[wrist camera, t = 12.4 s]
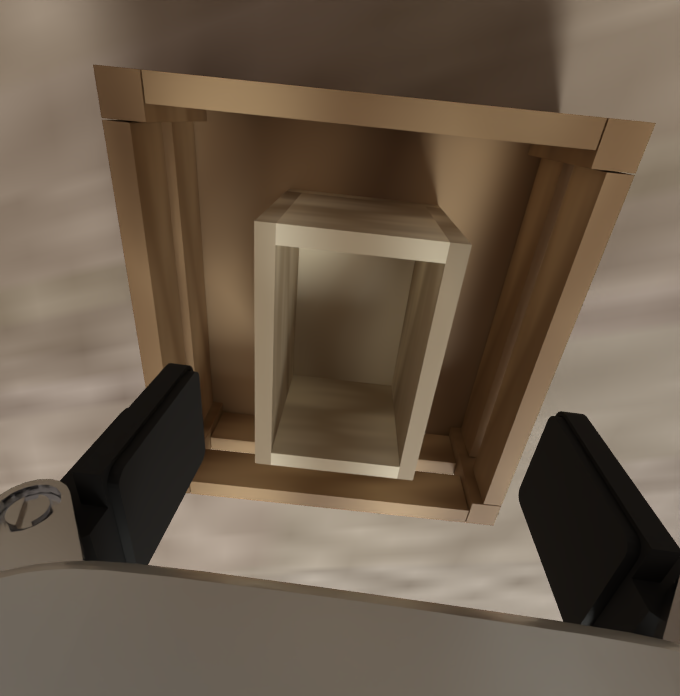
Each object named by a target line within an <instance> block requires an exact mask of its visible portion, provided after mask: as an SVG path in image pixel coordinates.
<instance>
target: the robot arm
mask: <svg viewBox="0 0 680 696" xmlns="http://www.w3.org/2000/svg"><path fill="white" fill-rule="evenodd" d="M204 455H205V438H204V425H203V413H202V401H201V389H200V377H199V373H198V372H195V371H193V368H192V366H190V365H182V364H174V363H168V364H167V365H166V366H165V367H164V368H163V369H162V371H161V372H160V373H159V374H158V375H157V376H156V377H155V379H154V380H153V381H152V382H151V383H150V384H149V385H148V386H147V388H146V389H145V390H144V391H143V392H142V393H141V394H140V395H139V397H138V398H137V399H136V400H135V401H134V402H133V403H132V404H131V406H130V407H129V408H126V409H125V410H124V411H122V412H121V414H120V415H119V416H118V417H117V418H116V419H115V420H114V421H113V422H112V424H111V425H110V426H109V427H108V428H107V429H106V430H105V431H104V432H103V434H102V435H101V436H100V437H99V438H98V439H97V440H96V441H95V442H94V444H93V445H92V446H91V447H90V448H89V449H88V450H87V451H86V452H85V454H84V455H83V456H82V457H81V458H80V459H79V460H78V461H77V463H76V464H75V465H74V466H73V467H72V468H71V469H70V470H69V471H68V473H67V474H66V475H65V476H64V477H63V478H62V479H61V480H60V481H57V480H52V479H38V480H34V481H29V482H25V483H22V484H20V485H17V486H15V487H13V488H11V489H9V490H7V491H6V492H4V493H2V494H1V495H0V696H680V548H679V547H678V545H677V544H676V542H675V541H674V540H673V538H672V537H671V535H670V534H669V532H668V531H667V530H666V528H665V527H664V525H663V524H662V523H661V521H660V520H659V518H658V517H657V516H656V514H655V513H654V511H653V510H652V508H651V507H650V506H649V504H648V503H647V501H646V500H645V499H644V497H643V496H642V494H641V493H640V491H639V490H638V489H637V487H636V486H635V484H634V483H633V482H632V480H631V479H630V477H629V476H628V475H627V473H626V472H625V470H624V469H623V467H622V466H621V465H620V463H619V462H618V460H617V459H616V458H615V456H614V455H613V453H612V452H611V450H610V449H609V448H608V446H607V445H606V443H605V442H604V441H603V439H602V438H601V436H600V435H599V434H598V432H597V431H596V429H595V428H594V426H593V425H592V424H591V422H590V421H589V419H588V418H587V417H586V416H585V415H583V414H578V413H570V412H562V411H561V412H558V413H557V414H556V416H551V417H550V418H549V419H548V421H547V424H546V426H545V429H544V431H543V433H542V436H541V438H540V441H539V443H538V445H537V448H536V450H535V453H534V455H533V457H532V460H531V462H530V465H529V467H528V470H527V472H526V474H525V477H524V479H523V482H522V484H521V486H520V489H519V502H520V505H521V508H522V511H523V513H524V516H525V519H526V522H527V524H528V527H529V530H530V532H531V535H532V538H533V541H534V543H535V546H536V549H537V551H538V554H539V557H540V559H541V562H542V565H543V568H544V570H545V573H546V576H547V578H548V581H549V584H550V587H551V589H552V592H553V595H554V597H555V600H556V603H557V606H558V608H559V611H560V614H561V616H562V619H563V622H561V621H555V620H548V619H541V618H534V617H527V616H521V615H514V614H507V613H500V612H493V611H486V610H479V609H472V608H465V607H458V606H451V605H445V604H437V603H430V602H423V601H416V600H409V599H402V598H395V597H387V596H380V595H373V594H366V593H359V592H351V591H344V590H337V589H330V588H323V587H315V586H308V585H301V584H293V583H286V582H278V581H271V580H263V579H256V578H248V577H241V576H233V575H226V574H218V573H211V572H203V571H195V570H186V569H178V568H169V567H160V566H152V565H148V564H149V562H150V560H151V558H152V556H153V554H154V552H155V550H156V548H157V547H158V545H159V543H160V541H161V539H162V537H163V535H164V533H165V531H166V529H167V528H168V526H169V524H170V522H171V520H172V518H173V516H174V514H175V512H176V511H177V509H178V507H179V505H180V503H181V501H182V499H183V497H184V495H185V493H186V492H187V490H188V488H189V486H190V484H191V482H192V480H193V478H194V476H195V474H196V473H197V471H198V469H199V467H200V465H201V463H202V461H203V458H204Z"/></svg>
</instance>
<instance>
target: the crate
mask: <svg viewBox="0 0 680 696" xmlns="http://www.w3.org/2000/svg"><path fill="white" fill-rule="evenodd" d="M93 67H94V73H95V80H96V86H97V92H98V98H99V104H100V110H101V116H102V118H108V119H118V120H102V122H103V129H104V135H105V141H106V147H107V153H108V159H109V165H110V171H111V178H112V184H113V190H114V196H115V202H116V208H117V214H118V220H119V227H120V233H121V239H122V245H123V251H124V257H125V263H126V269H127V276H128V282H129V288H130V294H131V300H132V306H133V312H134V318H135V325H136V331H137V337H138V343H139V349H140V355H141V361H142V367H143V374H144V380H145V386H146V388H147V386H148V385H149V384H150V383H151V382H152V381H153V380H154V379H155V377H156V376H157V375H158V374H159V373H160V372H161V371H162V369H163V368H164V367H165V366H166V365H167V364H168V363H174V364H182V365H190V366H192V368H193V371H195V372H198V373H199V377H200V389H201V401H202V413H203V425H204V438H205V455H204V458H203V461H202V463H201V465H200V467H199V469H198V471H197V473H196V474H195V476H194V478H193V480H192V482H191V484H190V486H189V488H188V490H187V492H186V493H190V492H191V494H200V495H210V496H219V497H228V498H238V499H247V500H257V501H266V502H276V503H285V504H294V505H304V506H313V507H323V508H332V509H342V510H351V511H361V512H370V513H379V514H389V515H398V516H408V517H417V518H427V519H436V520H445V521H455V522H464V523H465V521H466V523H474V524H483V525H494V523H495V520H496V518H497V515H498V513H499V510H500V508H501V505H502V503H503V500H504V498H505V495H506V493H507V490H508V488H509V485H510V483H511V480H512V478H513V475H514V473H515V471H516V468H517V466H518V463H519V461H520V458H521V456H522V453H523V451H524V448H525V446H526V443H527V441H528V438H529V436H530V433H531V431H532V428H533V426H534V423H535V421H536V419H537V416H538V414H539V411H540V409H541V406H542V404H543V401H544V399H545V396H546V394H547V391H548V389H549V386H550V384H551V381H552V379H553V376H554V374H555V371H556V369H557V366H558V364H559V362H560V359H561V357H562V354H563V352H564V349H565V347H566V344H567V342H568V339H569V337H570V334H571V332H572V329H573V327H574V324H575V322H576V319H577V317H578V314H579V312H580V310H581V307H582V305H583V302H584V300H585V297H586V295H587V292H588V290H589V287H590V285H591V282H592V280H593V277H594V275H595V272H596V270H597V267H598V265H599V262H600V260H601V258H602V255H603V253H604V250H605V248H606V245H607V243H608V240H609V238H610V235H611V233H612V230H613V228H614V225H615V223H616V220H617V218H618V215H619V213H620V210H621V208H622V205H623V203H624V201H625V198H626V196H627V193H628V191H629V188H630V186H631V183H632V181H633V178H634V176H635V175H630V174H626V173H621V172H627V173H636V171H637V168H638V166H639V163H640V161H641V158H642V156H643V153H644V151H645V149H646V146H647V144H648V141H649V139H650V136H651V134H652V131H653V129H654V126H655V124H656V123H650V122H640V121H631V120H621V119H612V118H602V117H592V116H583V115H573V114H563V113H554V112H544V111H535V110H525V109H515V108H506V107H496V106H486V105H477V104H467V103H458V102H448V101H438V100H429V99H419V98H409V97H400V96H390V95H381V94H371V93H361V92H352V91H342V90H332V89H323V88H313V87H304V86H294V85H284V84H275V83H265V82H255V81H246V80H236V79H227V78H217V77H207V76H198V75H188V74H179V73H169V72H159V71H150V70H140V69H130V68H121V67H111V66H102V65H93ZM616 171H617V172H616ZM288 189H296V190H305V191H314V192H323V193H332V194H342V195H351V196H360V197H369V198H378V199H387V200H396V201H405V202H414V203H423V204H433V205H439V207H440V208H441V209H442V210H443V211H444V212H445V214H446V215H447V216H448V217H449V218H450V219H451V221H452V222H453V223H454V224H455V225H456V227H457V228H458V229H459V230H460V231H461V232H462V234H463V235H464V236H465V237H466V238H467V239H468V241H469V242H470V243H471V244H472V247H471V251H470V255H469V259H468V263H467V267H466V271H465V275H464V279H463V283H462V287H461V291H460V295H459V299H458V303H457V307H456V311H455V315H454V319H453V323H452V327H451V331H450V335H449V339H448V343H447V347H446V351H445V355H444V359H443V363H442V366H441V370H440V374H439V378H438V382H437V386H436V390H435V394H434V398H433V402H432V406H431V410H430V414H429V418H428V422H427V426H426V430H425V434H424V438H423V442H422V446H421V450H420V454H419V458H418V462H417V466H416V470H415V474H414V478H413V480H404V479H395V478H386V477H377V476H367V475H358V474H349V473H340V472H331V471H322V470H313V469H304V468H294V467H285V466H276V465H267V464H258V463H255V325H254V221H255V220H256V219H257V218H258V217H259V216H260V215H261V214H262V213H263V212H264V211H265V210H266V209H268V208H269V207H270V206H271V205H272V204H273V203H274V202H275V201H276V200H277V199H278V198H280V197H281V196H282V195H283V194H284V193H285V192H286V191H287V190H288ZM211 447H212V449H216V450H211ZM221 450H225V451H221ZM230 451H235V452H230ZM240 452H244V453H240ZM249 453H254V454H249ZM420 471H424V472H420ZM429 472H433V473H429ZM438 473H443V474H438ZM453 473H454V475H453ZM448 474H452V475H448Z"/></svg>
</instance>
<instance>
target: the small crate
mask: <svg viewBox="0 0 680 696" xmlns="http://www.w3.org/2000/svg"><path fill="white" fill-rule="evenodd" d="M471 247H472V244H471V243H470V242H469V241H468V239H467V238H466V237H465V236H464V235H463V234H462V232H461V231H460V230H459V229H458V228H457V227H456V225H455V224H454V223H453V222H452V221H451V219H450V218H449V217H448V216H447V215H446V214H445V212H444V211H443V210H442V209H441V208H440V207H439V205H433V204H423V203H414V202H405V201H396V200H387V199H378V198H369V197H360V196H351V195H342V194H332V193H323V192H314V191H305V190H296V189H288V190H287V191H286V192H285V193H284V194H283V195H282V196H281V197H280V198H278V199H277V200H276V201H275V202H274V203H273V204H272V205H271V206H270V207H269V208H268V209H266V210H265V211H264V212H263V213H262V214H261V215H260V216H259V217H258V218H257V219H256V220H255V221H254V325H255V463H258V464H267V465H276V466H285V467H294V468H304V469H313V470H322V471H331V472H340V473H349V474H358V475H367V476H377V477H386V478H395V479H404V480H413V478H414V474H415V470H416V466H417V462H418V458H419V454H420V450H421V446H422V442H423V438H424V434H425V430H426V426H427V422H428V418H429V414H430V410H431V406H432V402H433V398H434V394H435V390H436V386H437V382H438V378H439V374H440V370H441V366H442V363H443V359H444V355H445V351H446V347H447V343H448V339H449V335H450V331H451V327H452V323H453V319H454V315H455V311H456V307H457V303H458V299H459V295H460V291H461V287H462V283H463V279H464V275H465V271H466V267H467V263H468V259H469V255H470V251H471Z"/></svg>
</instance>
